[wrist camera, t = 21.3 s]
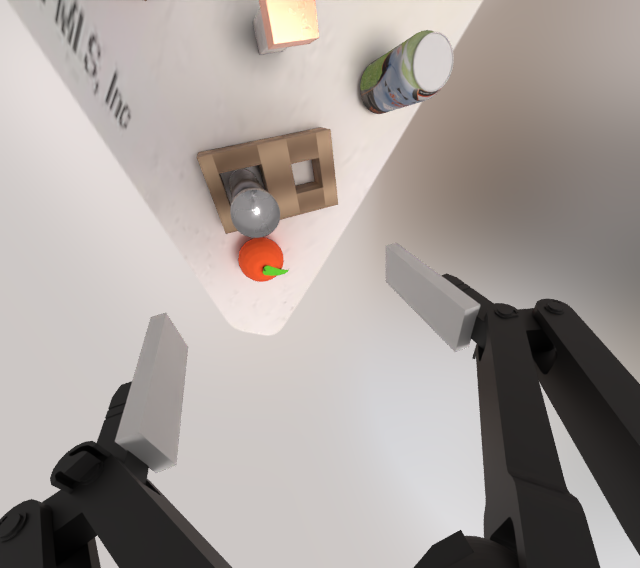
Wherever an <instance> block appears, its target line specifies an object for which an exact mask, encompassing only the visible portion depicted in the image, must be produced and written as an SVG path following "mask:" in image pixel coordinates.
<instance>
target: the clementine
mask: <svg viewBox="0 0 640 568" xmlns="http://www.w3.org/2000/svg"><path fill="white" fill-rule="evenodd" d="M238 261H239V266H240V268H241V270H242V272H243V273H244V274H245V275H246V276H247V277H249V278H250V279H252V280H255V281H261V282H263V281H268V280H271V279H273V278H274V277H276V276H277V275H282V274H285V273H286V272H288V270H289V269H288V270H282V266H283V262H284V261H283V253H282V251H281V249H280V247H279V246H278V245H277V244H276V243H275V242H274V241H272V240H270V239H268V238H262V237H260V238H253V239H251V240H249V241H248V242H246V243H245V244H244V245H243V246H242V247H241V250H240V252H239V258H238Z"/></svg>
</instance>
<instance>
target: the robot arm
mask: <svg viewBox="0 0 640 568" xmlns="http://www.w3.org/2000/svg"><path fill="white" fill-rule="evenodd" d="M386 282H387V283H388V284H389V285H390V286H391V287H392V288H393V289H394V290H395V291H396V292H397V293H398V294H399V295H400V297H402V299H403V300H404V301H405V302H406V303H407V304H408V305H409V306H411V308H412V309H413V310H414V311H415V312H416V313H417V314H418V315H419V316H420V317H421V318H422V319H423V320H424V321H425V322H426V323H427V324H428V325H429V326H430V327H431V328H432V329H433V330H434V331H435V332H436V333H437V334H438V335H439V336H440V337H441V338H442V339H443V340H444V341H445V342H446V343H447V344H448V345H449V346H450V347H451V348H452V349H453V350H454V351H455V352H457V351H460V350H462V349H465V348H467V347H469V343H470V340H471V339H473V341H475V342H476V343H477V345H476V348H475V351H474V354H473V359H475V357H476V362H477V377H478V391H479V406H480V421H481V436H482V450H483V465H484V480H485V494H486V506H485V513H484V538H481V537H477V536H464V534H463V533H462V531H461V530H460V531H458V532H456V533H454V534H452V535H450V536H449V537H447V538H445V539H443V540H441V541H439V542H438V543H436V544H434V545H432V546H431V548H430V549H429V550H428V551H427V553H426V554H425V555H424V556H423V557H422V559H421V560H420V561H419V562H418V563H417V564H416V565H415V567H414V568H600V565H599V562H598V558H597V555H596V551H595V548H594V544H593V541H592V537H591V534H590V530H589V527H588V523H587V520H586V516H585V513H584V511H583V508H582V506H581V504H580V502H579V501H578V499H577V498H576V497H574V496H573V495H572V494H570V493H569V491H568V489H567V487H566V484H565V481H564V477H563V473H562V469H561V465H560V462H559V457H558V454H557V450H556V446H555V442H554V438H553V434H552V430H551V426H550V423H549V419H548V415H547V411H546V407H545V403H544V399H543V396H542V392H541V388H540V384H541V385H542V387H543V389H544V391H545V393H546V394H547V396H548V398H549V400H550V401H551V403H552V405H553V407H554V408H555V410H556V412H557V414H558V415H559V417H560V419H561V420H562V422H563V424H564V426H565V427H566V429H567V431H568V433H569V435H570V436H571V438H572V440H573V442H574V443H575V445H576V447H577V449H578V450H579V452H580V454H581V455H582V457H583V459H584V461H585V463H586V464H587V466H588V468H589V470H590V471H591V473H592V475H593V476H594V478H595V480H596V482H597V484H598V485H599V487H600V489H601V491H602V492H603V494H604V496H605V498H606V499H607V501H608V503H609V505H610V506H611V508H612V510H613V512H614V513H615V515H616V517H617V519H618V520H619V522H620V524H621V526H622V527H623V529H624V531H625V533H626V534H627V536H628V537H629V539H630V541H631V542H632V544H633V546H634V547H635V549H636V550H637V552H638V554H639V555H640V384H639V383H638V382H637V381H636V379H635V378H634V377H633V376H632V375H631V374H630V373H629V372H628V371H627V370H626V368H625V367H624V366H623V365H622V364H621V363H620V362H619V360H617V358H616V357H615V356H614V355H613V354H612V353H611V352H610V350H609V349H608V348H607V347H606V346H605V345H604V344H603V343H602V341H601V340H600V339H599V338H598V337H597V336H596V335H595V334H594V333H593V331H592V330H591V329H590V328H589V327H588V326H587V325H586V324H585V323H584V321H583V320H582V319H581V318H580V317H579V316H578V315H577V313H576V312H575V311H574V310H573V309H572V308H571V307H570V306H568V305H567V304H565V303H563V302H561V301H558V300H554V299H541V300H539V301H537V303H536V305H535V308H531V309H520V310H517V309H516V308H515V307H512V306H510V305H507V304H502V303H495V304H494V303H492V302H491V301H489V300H488V299H487V298H485V297H484V296H482V295H481V294H479V293H478V292H477V291H475V290H474V289H472V288H470V286H468V285H467V284H464V282H462V281H461V280H459V279H458V278H457V277H454V276H451V275H449V274H444V275H442V276H441V275H440V274H438V273H437V272H435V271H434V270H433V269H432V268H430V267H429V266H427V265H426V264H425V263H423V262H422V261H421V260H420V259H418V258H417V257H416V256H414V255H413V254H411V253H410V252H409V251H407V250H406V249H405V248H403V247H402V246H401V245H399V244H398V243H394V244H391V245H387V246H386ZM187 352H188V346H187V344H186V343H185V341H184V340H183V338H182V337H181V335H180V333H179V332H178V330H177V329H176V327H175V326H174V325H173V323H172V321H171V320H170V318H169V317H168V315H167V314H166V313H163V314H160V315H157V316H153V317H151V319H150V322H149V326H148V329H147V332H146V336H145V339H144V343H143V346H142V349H141V353H140V356H139V360H138V363H137V367H136V370H135V374H134V377H133V380H132V382H129V383H126V384H123V385H121V386H120V387H119V389H118V390H117V391H116V393H115V394H114V396H113V397H112V400H111V403H110V406H109V411H108V412H107V415H106V417H105V418H106V420H105V421H104V423H103V426H102V429H101V432H100V435H99V438H98V441H97V443H95V442H93V441H88V442H84V443H81V444H79V445H77V446H75V447H74V448H73V449H71V450H70V451H68V452H67V453H66V454H65V455H64V456H63V457H62V458H61V459H60V460H59V462H58V463H57V465H56V466H55V468H54V469H53V472H52V474H51V477H50V481H51V485H53V486H55V487H57V488H59V489H61V490H60V491H58V492H57V493H55V494H54V495H52V496H51V497H49V498H48V499H46V500H45V501H43V502H42V503H41V502H39V501H36V500H32V499H31V500H28V501H24V502H22V503H21V504H18V505H17V506H15V507H13V508H12V509H11V510H10V511H9V512H7V513H6V514H5V515H4V516H3V517H2V518H1V519H0V568H101V567H100V562H99V557H98V551H97V546H96V541H95V537H96V536H97V535H98V537H99V538H100V540H101V541H102V543H103V544H104V546H105V547H106V549H107V550H108V552H109V553H110V555H111V556H112V558H113V559H114V561H115V562H116V564H117V565H118V567H119V568H232V567H231V566H230V565H229V564H228V563H227V562H226V561H225V560H224V558H223V557H222V556H221V555H220V554H219V553H218V552H217V551H216V550H215V549H214V548H213V547H212V546H211V545H210V544H209V543H208V542H207V541H206V539H205V538H204V537H202V535H201V534H200V533H199V532H198V531H197V530H196V529H195V528H194V527H193V526H192V525H191V524H190V523H189V522H188V521H187V519H186V518H185V517H184V516H183V515H182V514H181V513H180V512H179V511H178V510H177V509H176V508H175V507H174V506H173V505H172V504H171V503H170V502H169V501H168V499H167V498H166V497H165V496H164V495H163V494H162V493H161V492H160V491H159V490H158V489H157V488H156V487H155V486H154V485H153V484H152V483H151V482H150V481H149V480H148V479H147V474H148V468H150V469H151V470H153V471H154V472H155V473H158V472H160V471H163V470H165V469H167V468H170V467H172V466H175V465H176V462H177V452H178V442H179V433H180V423H181V412H182V402H183V392H184V383H185V372H186V363H187ZM539 382H540V384H539Z"/></svg>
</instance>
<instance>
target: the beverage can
mask: <svg viewBox="0 0 640 568" xmlns="http://www.w3.org/2000/svg"><path fill="white" fill-rule="evenodd" d="M452 67H453V50H452V46H451V43H450V41H449V40H448V38H447V37H446V36H445V35H444V34H442V33H440V32H434V31H428V30H426V31H421V32H419V33H417V34H415V35H414V36H412V37H411V38H409V39H408V40H406V41H405V42H403V43H402V44H400V45H399V46H397V47H395V48H394V49H392V50H391V51H389V52H388V53H386V54H385V55H383V56H382V57H380V58H379V59H377V60H376V61H374V62H373V63H371V64H370V65H369V66H368V67H367V68H366V70H365V71H364V73H363V76H362V79H361V85H360V91H361V97H362V100H363V103H364V104H365V106H366V107H367V108H368V109H369V110H370V111H371V112H373V113H376V114H382V113H386V112H389V111H392V110H395V109H399V108H402V107H405V106H409V105H412V104H415V103H418V102H422V101H425V100H428V99H430V98H432V97H433V96H434V95H436V94H437V93H438V91H439V90H440V89H441V88H442V86H443V85H444V84H445V83H446V82H447V80H448V78H449V77H450V74H451V71H452Z"/></svg>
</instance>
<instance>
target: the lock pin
mask: <svg viewBox="0 0 640 568" xmlns="http://www.w3.org/2000/svg"><path fill="white" fill-rule="evenodd" d="M259 4H260V9H259V11H258V13H257V15H256V17H255V19H254V21H253V26H254V31H255V36H256V40H257V45H258V50H259V55H262V54H269V53H275V52H282V51H284V50H285V49H286V48H287V47H291V46H298V45H305V44H310V43H311V42H313V41H314V40H316V39H318V38H319V33H318V24H317V14H316V5H315V0H259Z"/></svg>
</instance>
